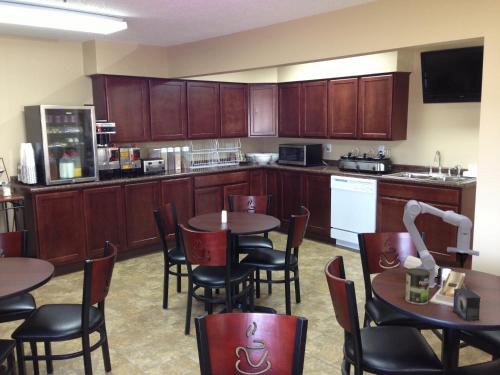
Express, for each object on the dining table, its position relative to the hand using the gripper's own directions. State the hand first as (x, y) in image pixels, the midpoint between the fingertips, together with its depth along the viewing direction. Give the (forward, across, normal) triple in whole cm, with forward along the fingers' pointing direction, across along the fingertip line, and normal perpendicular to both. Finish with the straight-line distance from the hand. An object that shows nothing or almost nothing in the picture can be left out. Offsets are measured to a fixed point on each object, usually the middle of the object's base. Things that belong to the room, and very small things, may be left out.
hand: (461, 267), depth 230 cm
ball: (+8, -1, -22) cm, 23 cm away
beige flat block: (+10, -1, -22) cm, 24 cm away
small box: (+11, +9, -35) cm, 38 cm away
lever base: (+10, -1, -16) cm, 20 cm away
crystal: (+11, -23, +14) cm, 29 cm away
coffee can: (+11, -13, -30) cm, 34 cm away
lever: (+8, -1, -11) cm, 14 cm away
